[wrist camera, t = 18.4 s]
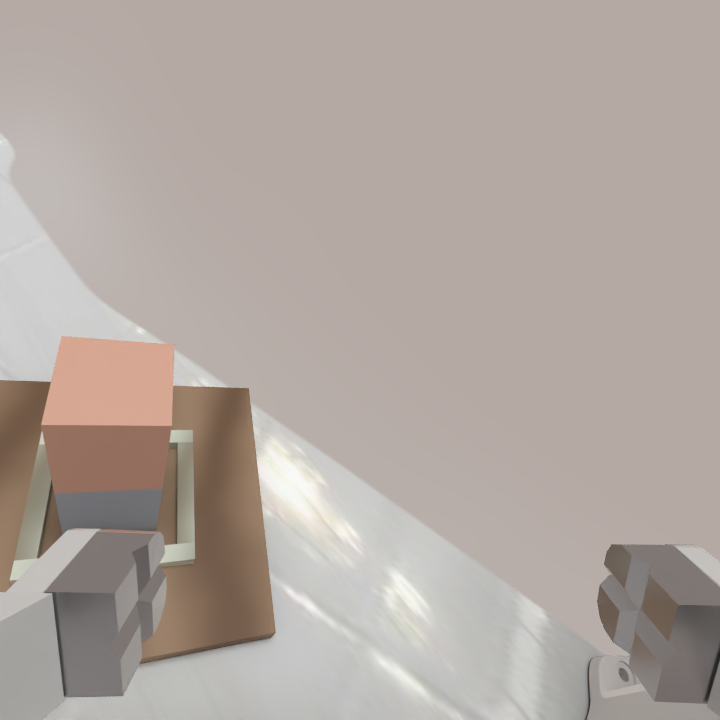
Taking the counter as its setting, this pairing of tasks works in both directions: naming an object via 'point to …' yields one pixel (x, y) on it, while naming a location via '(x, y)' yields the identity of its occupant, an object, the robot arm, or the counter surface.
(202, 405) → the base plate
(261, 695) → the counter surface
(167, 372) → the brick stack
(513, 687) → the counter surface
